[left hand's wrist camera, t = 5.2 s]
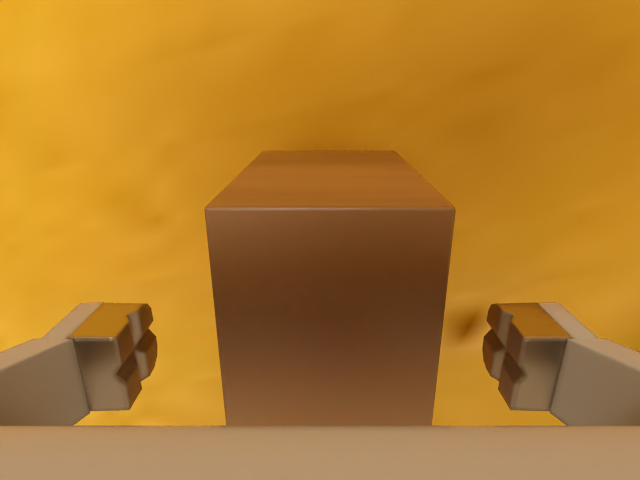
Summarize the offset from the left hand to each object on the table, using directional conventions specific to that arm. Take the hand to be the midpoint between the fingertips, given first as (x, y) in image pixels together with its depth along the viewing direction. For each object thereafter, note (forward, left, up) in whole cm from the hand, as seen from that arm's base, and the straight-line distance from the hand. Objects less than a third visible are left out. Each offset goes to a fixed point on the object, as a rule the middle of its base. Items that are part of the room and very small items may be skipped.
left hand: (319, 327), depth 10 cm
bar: (+6, +7, -10) cm, 13 cm away
